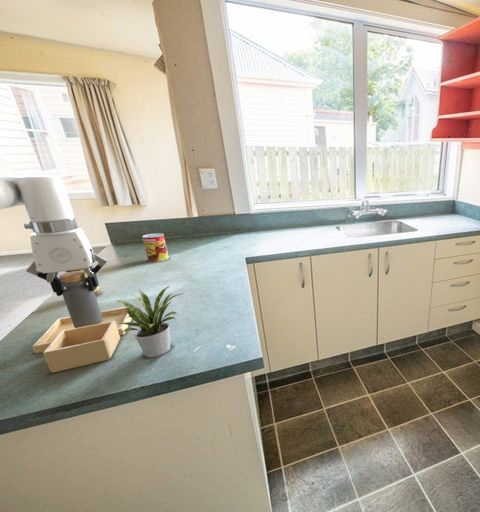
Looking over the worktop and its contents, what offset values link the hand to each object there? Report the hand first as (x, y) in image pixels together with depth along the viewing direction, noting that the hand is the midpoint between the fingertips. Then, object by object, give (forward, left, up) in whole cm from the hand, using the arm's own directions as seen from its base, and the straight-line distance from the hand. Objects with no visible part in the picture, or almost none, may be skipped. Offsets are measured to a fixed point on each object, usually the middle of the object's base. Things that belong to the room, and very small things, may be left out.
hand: (77, 290), depth 80 cm
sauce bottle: (-8, +29, -12) cm, 33 cm away
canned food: (+8, +66, -12) cm, 68 cm away
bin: (+3, -14, -12) cm, 19 cm away
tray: (0, 0, -12) cm, 12 cm away
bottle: (0, 0, -10) cm, 10 cm away
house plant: (+19, -20, -12) cm, 30 cm away
